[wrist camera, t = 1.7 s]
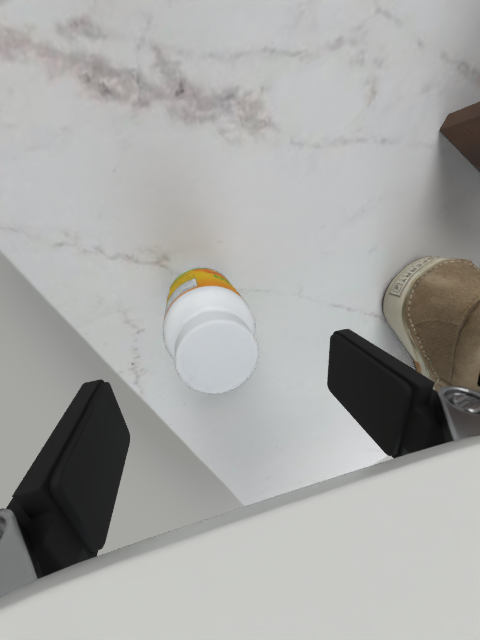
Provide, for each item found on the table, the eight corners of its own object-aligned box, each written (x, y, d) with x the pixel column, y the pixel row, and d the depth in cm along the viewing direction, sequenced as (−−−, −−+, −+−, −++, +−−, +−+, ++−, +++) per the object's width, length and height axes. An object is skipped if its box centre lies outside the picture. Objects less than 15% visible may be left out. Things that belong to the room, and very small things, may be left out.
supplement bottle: (244, 300, 20) (293, 358, 12) (198, 338, 21) (213, 422, 12) (204, 251, 18) (227, 279, 9) (153, 296, 18) (130, 362, 10)
